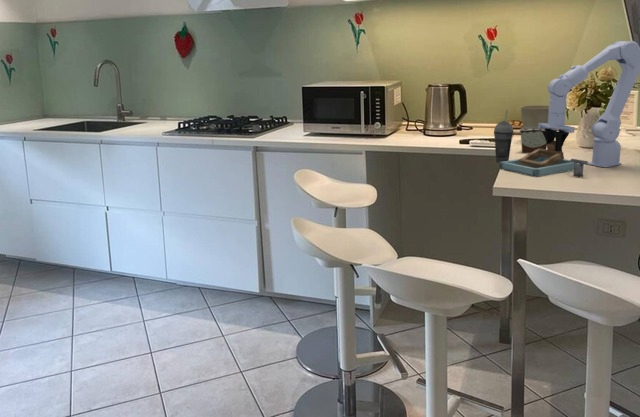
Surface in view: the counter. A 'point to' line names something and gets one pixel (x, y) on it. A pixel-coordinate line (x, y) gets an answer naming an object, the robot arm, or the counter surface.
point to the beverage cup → (503, 140)
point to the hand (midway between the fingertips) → (554, 150)
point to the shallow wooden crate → (549, 153)
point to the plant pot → (534, 115)
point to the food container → (532, 139)
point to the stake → (578, 167)
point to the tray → (556, 168)
